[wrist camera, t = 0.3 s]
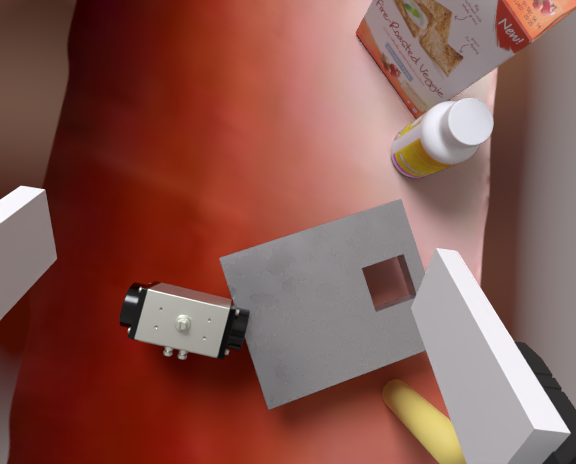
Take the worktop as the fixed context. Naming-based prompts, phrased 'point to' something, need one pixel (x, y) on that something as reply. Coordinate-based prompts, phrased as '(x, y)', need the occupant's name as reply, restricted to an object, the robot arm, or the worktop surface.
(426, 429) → the pin
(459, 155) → the supplement bottle
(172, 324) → the pneumatic valve
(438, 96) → the cracker box
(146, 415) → the worktop surface
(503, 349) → the robot arm
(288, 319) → the gray slab
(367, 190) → the worktop surface
